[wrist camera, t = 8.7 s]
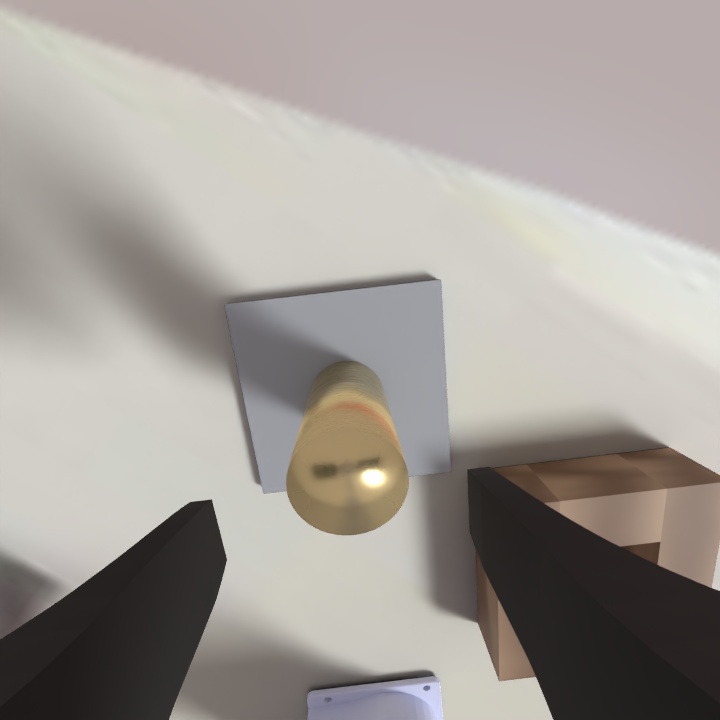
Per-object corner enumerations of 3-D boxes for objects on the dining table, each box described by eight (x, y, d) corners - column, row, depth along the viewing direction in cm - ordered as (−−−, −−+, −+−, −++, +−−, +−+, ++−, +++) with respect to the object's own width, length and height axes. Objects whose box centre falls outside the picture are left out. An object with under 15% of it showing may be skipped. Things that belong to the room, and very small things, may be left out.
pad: (265, 487, 21) (263, 493, 21) (227, 303, 18) (224, 304, 18) (448, 466, 21) (450, 471, 21) (438, 279, 19) (441, 279, 18)
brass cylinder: (319, 436, 20) (302, 544, 12) (302, 368, 19) (272, 440, 11) (389, 422, 20) (417, 523, 12) (376, 354, 19) (398, 417, 11)
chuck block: (478, 624, 25) (499, 681, 21) (473, 470, 21) (496, 508, 18) (650, 603, 25) (699, 657, 21) (670, 447, 22) (730, 481, 18)
